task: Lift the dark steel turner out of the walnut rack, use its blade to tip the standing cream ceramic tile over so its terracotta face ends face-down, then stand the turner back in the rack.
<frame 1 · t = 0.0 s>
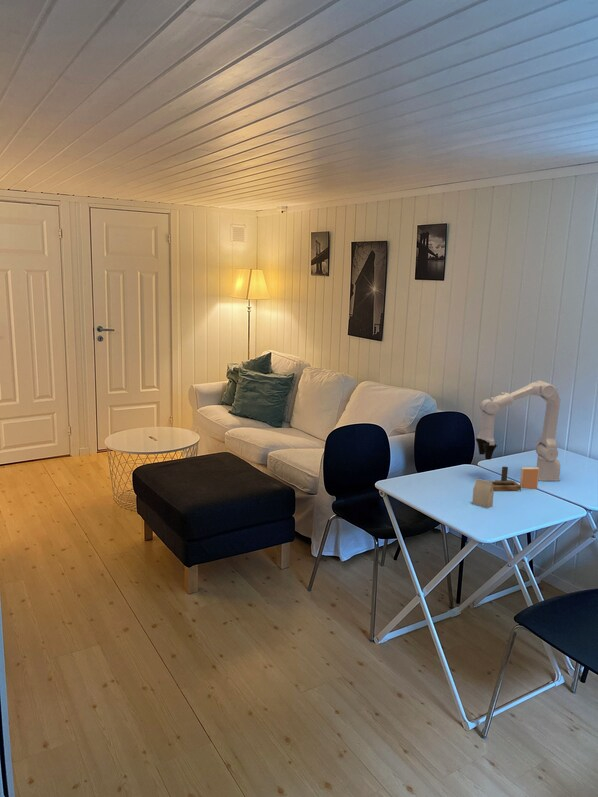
hand: (484, 456, 273), 10 cm above the table, tool pointing down, fingers open, 7 cm apart
turner: (504, 477, 262), in the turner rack
tea bag: (482, 505, 243), on the table
tile: (528, 488, 263), on the table
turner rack: (503, 488, 263), on the table
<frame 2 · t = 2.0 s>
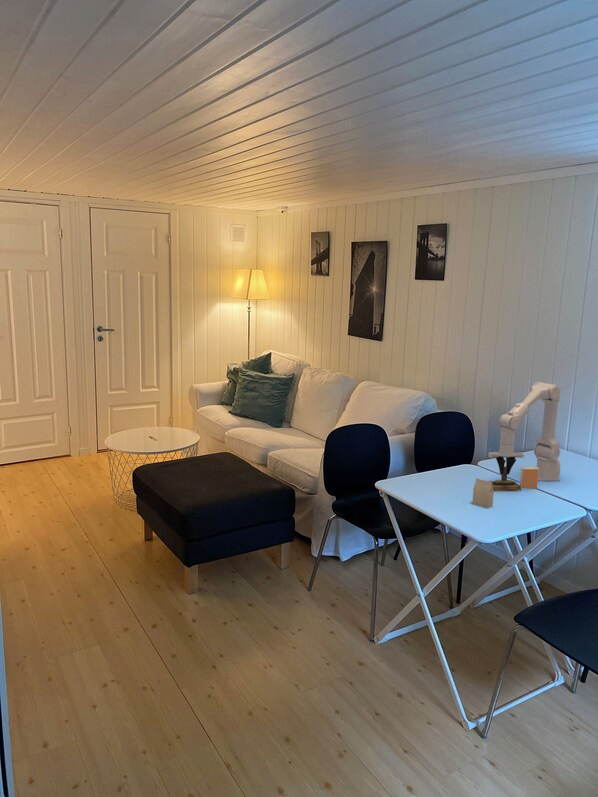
hand: (504, 473, 261), 6 cm above the table, tool pointing down, fingers closed on turner
turner: (504, 477, 262), in the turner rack, touching gripper
everything else where it was.
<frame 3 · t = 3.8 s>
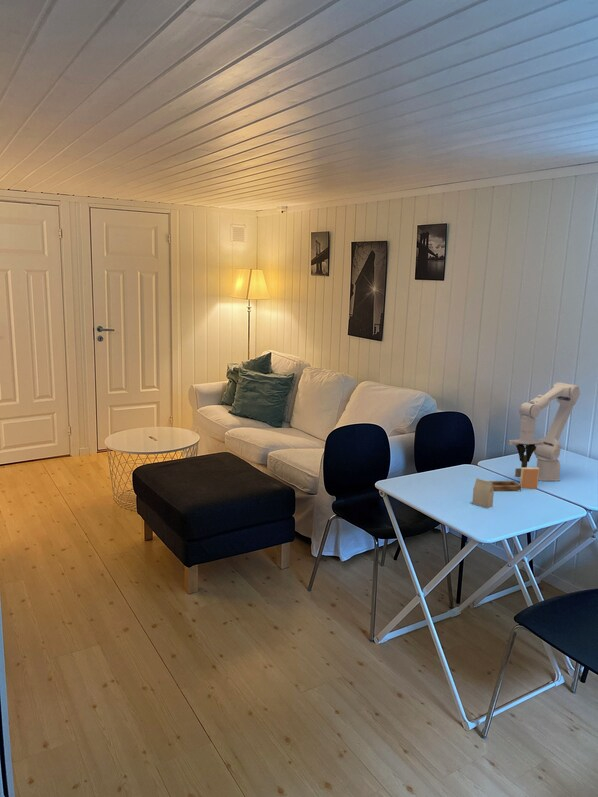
hand: (524, 461, 267), 10 cm above the table, tool pointing down, fingers closed on turner
turner: (524, 465, 267), point 8 cm above the table, touching gripper
everything else where it was.
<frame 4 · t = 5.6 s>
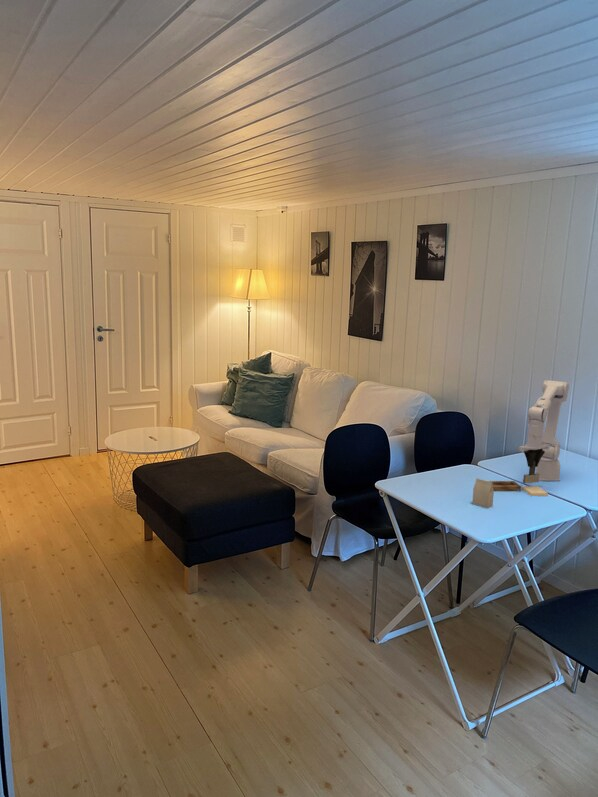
hand: (532, 466, 259), 10 cm above the table, tool pointing down, fingers closed on turner, 2 cm apart
turner: (532, 471, 260), point 8 cm above the table, touching gripper
tile: (529, 487, 262), point 1 cm above the table, tilted 90°
everything else where it was.
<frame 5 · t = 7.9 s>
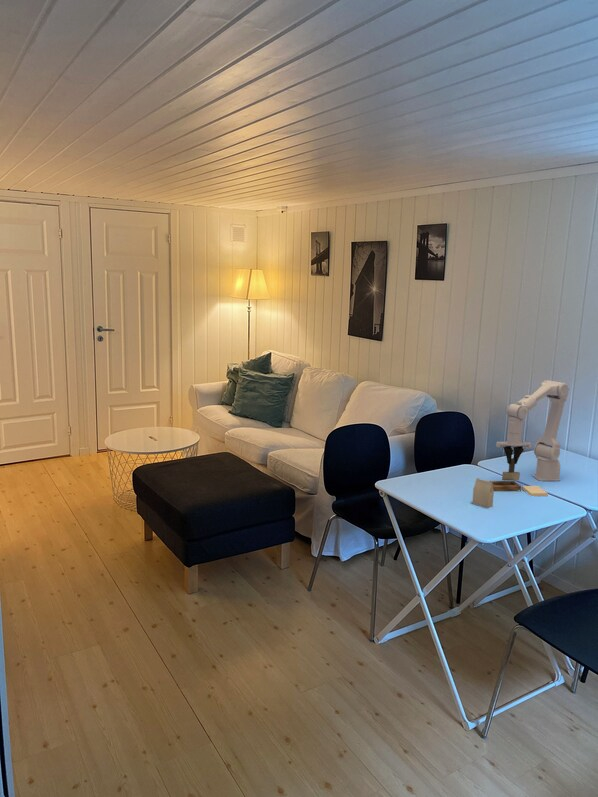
hand: (511, 463, 263), 10 cm above the table, tool pointing down, fingers closed on turner
turner: (511, 469, 263), point 8 cm above the table, touching gripper
everything else where it was.
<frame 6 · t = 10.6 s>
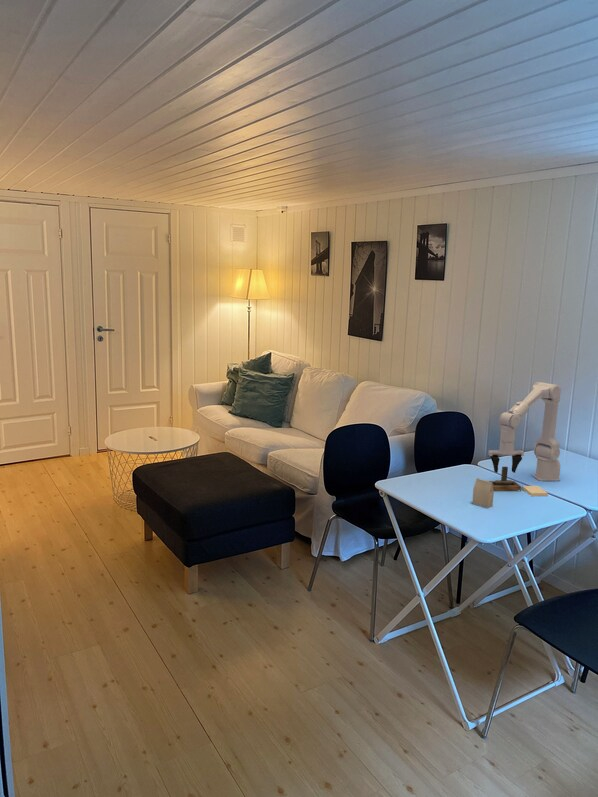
hand: (504, 472, 261), 7 cm above the table, tool pointing down, fingers open, 7 cm apart
turner: (504, 477, 262), in the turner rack
everything else where it was.
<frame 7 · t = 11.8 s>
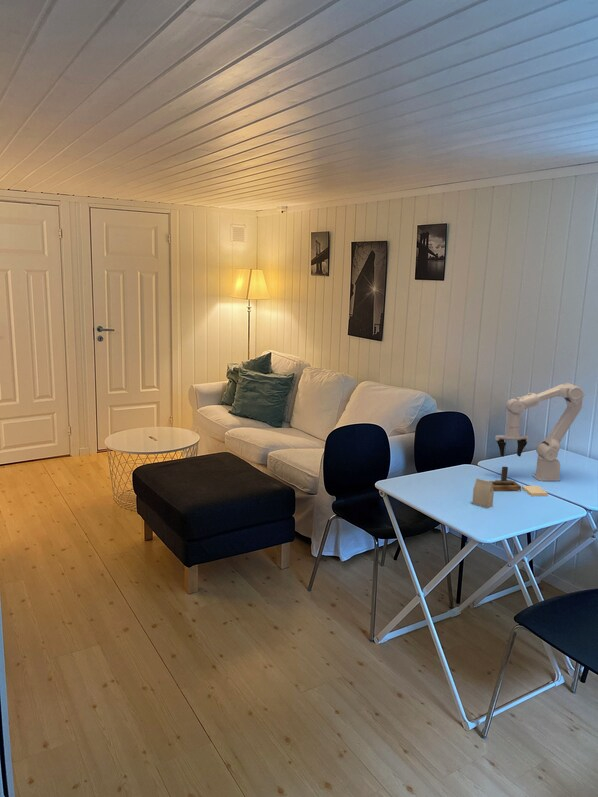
hand: (510, 455, 275), 10 cm above the table, tool pointing down, fingers open, 7 cm apart
nothing on the table moved.
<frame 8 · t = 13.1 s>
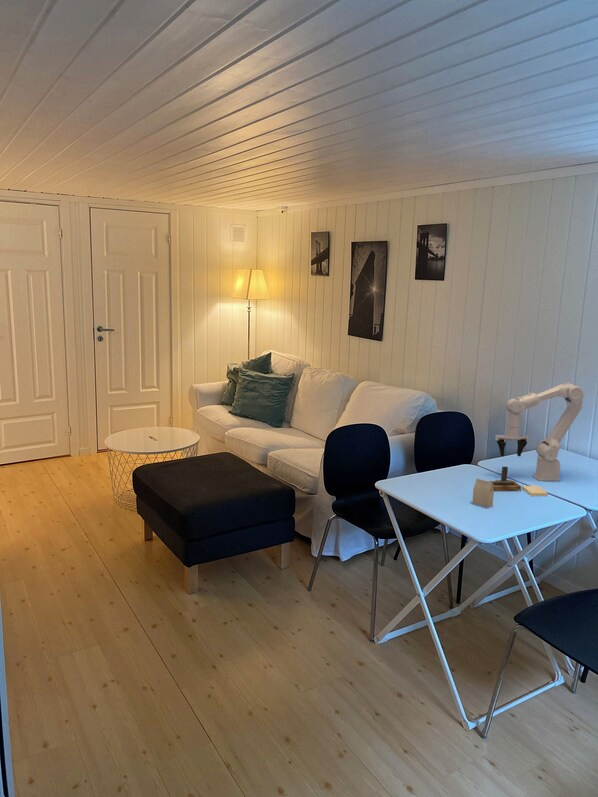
hand: (510, 455, 275), 10 cm above the table, tool pointing down, fingers open, 7 cm apart
nothing on the table moved.
at the end: tile tilted 90°; turner 0.0 cm off-centre on the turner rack, point 4.7 cm above the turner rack's base; the gripper is holding nothing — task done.
